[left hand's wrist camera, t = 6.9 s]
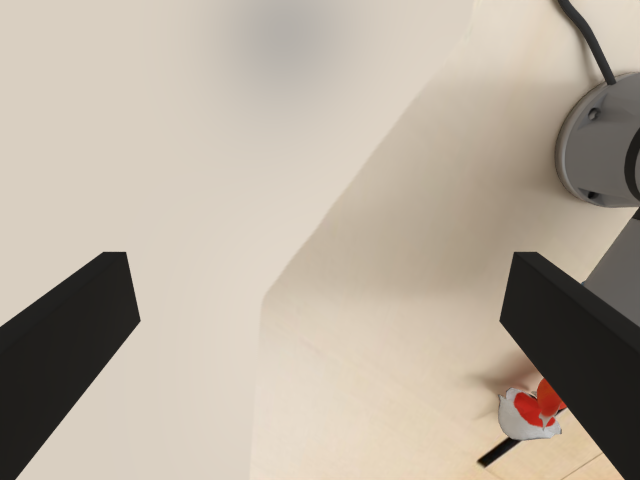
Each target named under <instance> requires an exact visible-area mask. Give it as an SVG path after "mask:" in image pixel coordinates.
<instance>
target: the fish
mask: <svg viewBox="0 0 640 480" xmlns="http://www.w3.org/2000/svg"><path fill="white" fill-rule="evenodd" d="M531 393H533V394H534V395H535V396H536V397H537V399H536V398H535V397H534V396H532V395H530V394H528V393H526V392H524V391H521V390H518V389H514V388H510V389H508V390H507V391H506V397H504V396H502V395H498V396H499V399H500V405H499V414H498V419H499V424H500V426H501V428H502V430H503V432H504V433H505V434H506V435H507V436H509V437H510V438H512V439H516V440H532V439H541V438H551V437H552V436H554V435H555V434H561V427H560V425H559V423H558V421H557V420H556V418H555V416H554V415H555V414H556V413H557V411H558V410H560V409H563V408H565V407H567V406H566V405H565V403H564V402H563V401H562V400H561V398H560V397H559V396H558V395H557V393H556V392H555V391H554V390H553V388H552V387H551V386H550V384H549V383H548V382H547V381H546V379H545V378H544V379H542V381H541V382H540V384H539V386H538V389H537V392H534V391H532V392H531Z"/></svg>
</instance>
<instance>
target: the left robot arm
mask: <svg viewBox="0 0 640 480" xmlns="http://www.w3.org/2000/svg"><path fill="white" fill-rule="evenodd" d="M558 2H559V4H560V6H561V7H562V9H563V10H564V12H565V13H566V14H567V15H568V16H569V17H570V18H571V20H572V21H573V22H574V23H575V24H576V25H577V26H578V28H579V29H580V30H581V32H582V34H583V35H584V37H585V39H586V41H587V43H588V45H589V47H590V49H591V51H592V53H593V55H594V57H595V59H596V62H597V64H598V66H599V68H600V70H601V72H602V74H603V76H604V78H605V82H603V83H602V84H600V85H598V86H597V87H595V88H594V89H593V90H591V91H590V92H589V93H588V94H586V95H585V96H584V97H583V98H582V99H581V100H580V101H579V102H578V103H577V104H576V106H575V107H574V108H573V109H572V111H571V112H570V113H569V115H568V117H567V118H566V120H565V122H564V124H563V126H562V128H561V130H560V133H559V136H558V139H557V143H556V149H555V164H556V170H557V173H558V176H559V178H560V180H561V182H562V184H563V185H564V186H565V188H566V189H567V190H568V191H569V192H570V193H571V194H573V195H574V196H576V197H577V198H579V199H582V200H584V201H586V202H589V203H591V204H594V205H597V206H601V207H610V208H617V207H639V208H638V210H637V211H636V213H635V214H634V215H633V217H632V218H631V219H630V220H629V222H628V223H627V225H626V226H625V227H624V229H623V230H622V231H621V233H620V234H619V236H618V237H617V238H616V240H615V241H614V242H613V244H612V245H611V246H610V248H609V249H608V251H607V252H606V253H605V255H604V256H603V257H602V259H601V260H600V262H599V263H598V264H597V266H596V267H595V268H594V270H593V271H592V272H591V274H590V275H589V277H588V278H587V279H586V281H584V282H582V283H581V284H580V283H579V282H577V281H576V280H575V279H573V278H572V277H570V276H569V275H568V274H566V273H565V272H564V271H562V270H561V269H559V268H558V267H557V266H555V265H554V264H553V263H551V262H550V261H548V260H547V259H546V258H544V257H543V256H542V255H540V254H539V253H537V252H514V254H513V259H512V264H511V268H510V273H509V278H508V283H507V287H506V292H505V297H504V302H503V306H502V311H501V316H500V320H499V321H500V322H501V324H502V325H503V326H504V328H505V329H506V330H507V331H508V333H509V334H510V335H511V336H512V338H513V339H514V340H515V341H516V343H517V344H518V345H519V347H520V348H521V349H522V350H523V352H524V353H525V354H526V355H527V357H528V358H529V359H530V360H531V362H532V363H533V364H534V366H535V367H536V368H537V369H538V371H539V372H540V373H541V374H542V376H543V377H544V378H545V379H546V381H547V382H548V383H549V384H550V386H551V387H552V388H553V390H554V391H555V392H556V393H557V395H558V396H559V397H560V398H561V400H562V401H563V402H564V403H565V405H566V406H567V407H568V409H569V410H570V411H571V412H572V414H573V415H574V416H575V417H576V419H577V420H578V421H579V422H580V424H581V425H582V426H583V428H584V429H585V430H586V431H587V433H588V434H589V435H590V436H591V438H592V439H593V440H594V441H595V443H596V444H597V445H598V447H599V448H600V449H601V450H602V452H603V453H604V454H605V455H606V457H607V458H608V459H609V460H610V462H611V463H612V464H613V465H614V467H615V468H616V469H617V471H618V472H619V473H620V474H621V476H622V477H623V478H624V479H625V480H640V72H633V73H627V74H623V75H620V76H617V77H614V76H613V73H612V71H611V69H610V67H609V65H608V63H607V61H606V58H605V56H604V54H603V52H602V50H601V48H600V46H599V44H598V42H597V39H596V37H595V36H594V34H593V32H592V30H591V28H590V27H589V25H588V23H587V22H586V21H585V19H584V18H583V17H582V16H581V15H580V14H579V13H578V12H577V10H576V9H575V8H574V7H573V6H572V5H571V3H570V2H569V0H558ZM140 321H141V320H140V316H139V311H138V306H137V302H136V297H135V292H134V287H133V283H132V278H131V273H130V268H129V264H128V259H127V254H126V252H103V253H101V254H100V255H98V256H97V257H96V258H94V259H93V260H92V261H90V262H89V263H87V264H86V265H85V266H83V267H82V268H81V269H79V270H78V271H76V272H75V273H74V274H72V275H71V276H70V277H68V278H67V279H66V280H64V281H63V282H61V283H60V284H59V285H57V286H56V287H54V288H53V289H52V290H50V291H49V292H48V293H46V294H45V295H44V296H42V297H41V298H39V299H38V300H37V301H35V302H34V303H33V304H31V305H30V306H29V307H27V308H26V309H24V310H23V311H22V312H20V313H19V314H17V315H16V316H15V317H13V318H12V319H11V320H9V321H8V322H6V323H5V324H4V325H2V326H1V327H0V480H15V479H16V478H17V477H18V476H19V474H20V473H21V472H22V471H23V469H24V468H25V467H26V465H27V464H28V463H29V462H30V460H31V459H32V458H33V457H34V455H35V454H36V453H37V452H38V450H39V449H40V448H41V446H42V445H43V444H44V443H45V441H46V440H47V439H48V438H49V436H50V435H51V434H52V433H53V431H54V430H55V429H56V428H57V426H58V425H59V424H60V422H61V421H62V420H63V419H64V417H65V416H66V415H67V414H68V412H69V411H70V410H71V408H72V407H73V406H74V405H75V403H76V402H77V401H78V400H79V398H80V397H81V396H82V395H83V393H84V392H85V391H86V389H87V388H88V387H89V386H90V384H91V383H92V382H93V381H94V379H95V378H96V377H97V376H98V374H99V373H100V372H101V371H102V369H103V368H104V367H105V365H106V364H107V363H108V362H109V360H110V359H111V358H112V357H113V355H114V354H115V353H116V352H117V350H118V349H119V348H120V347H121V345H122V344H123V343H124V341H125V340H126V339H127V338H128V336H129V335H130V334H131V333H132V331H133V330H134V329H135V328H136V326H137V325H138V324H139V322H140Z"/></svg>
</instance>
